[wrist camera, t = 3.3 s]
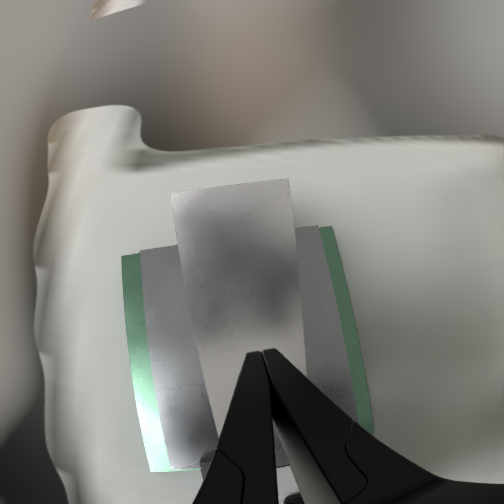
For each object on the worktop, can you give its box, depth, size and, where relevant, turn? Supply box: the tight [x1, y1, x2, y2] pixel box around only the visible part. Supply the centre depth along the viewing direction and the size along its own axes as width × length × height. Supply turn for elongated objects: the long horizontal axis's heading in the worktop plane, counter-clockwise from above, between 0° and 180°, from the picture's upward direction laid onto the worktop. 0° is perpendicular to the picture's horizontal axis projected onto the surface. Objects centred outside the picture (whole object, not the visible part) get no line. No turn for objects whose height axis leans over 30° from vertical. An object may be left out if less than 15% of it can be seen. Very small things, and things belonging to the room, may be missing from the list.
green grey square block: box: [121, 225, 374, 481], centre depth 18 cm, size 16×16×8 cm
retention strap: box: [171, 179, 306, 468], centre depth 12 cm, size 13×4×1 cm, turn 10°
